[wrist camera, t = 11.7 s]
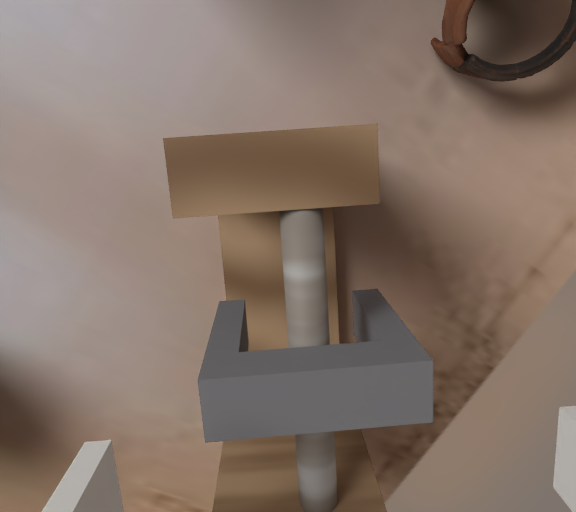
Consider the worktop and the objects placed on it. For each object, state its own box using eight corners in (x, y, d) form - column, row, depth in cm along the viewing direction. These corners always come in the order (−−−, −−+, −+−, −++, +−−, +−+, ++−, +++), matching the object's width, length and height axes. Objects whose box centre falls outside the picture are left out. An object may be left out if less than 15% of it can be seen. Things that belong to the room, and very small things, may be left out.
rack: (212, 140, 34) (163, 138, 18) (327, 133, 34) (377, 123, 18) (238, 401, 38) (216, 580, 23) (339, 393, 38) (387, 565, 23)
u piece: (377, 288, 27) (433, 360, 18) (378, 332, 28) (432, 422, 19) (219, 301, 27) (197, 380, 18) (224, 345, 27) (205, 442, 18)
